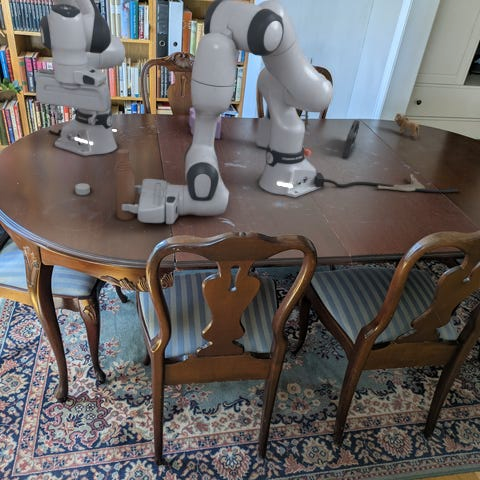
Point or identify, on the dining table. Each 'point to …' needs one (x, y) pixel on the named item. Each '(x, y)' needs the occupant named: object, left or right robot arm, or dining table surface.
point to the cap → (82, 189)
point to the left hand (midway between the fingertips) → (75, 122)
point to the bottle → (124, 184)
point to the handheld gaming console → (351, 139)
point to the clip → (192, 122)
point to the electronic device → (264, 131)
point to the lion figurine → (406, 124)
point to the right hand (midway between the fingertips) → (123, 198)
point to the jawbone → (405, 187)
